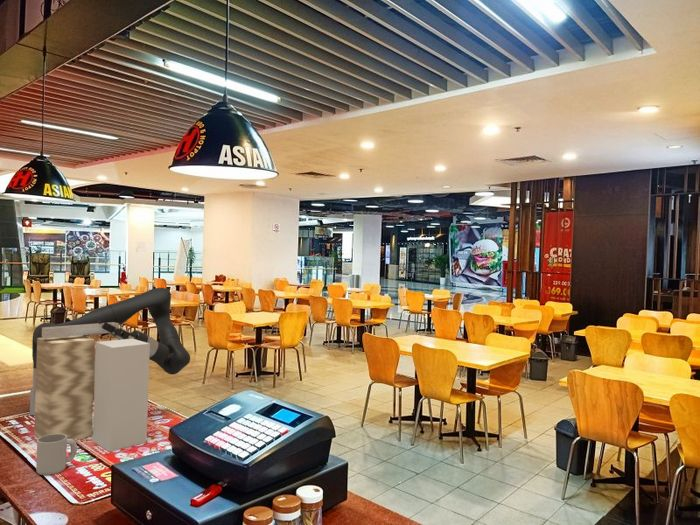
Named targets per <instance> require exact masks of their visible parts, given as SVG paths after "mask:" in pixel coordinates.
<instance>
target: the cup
mask: <svg viewBox="0 0 700 525" xmlns="http://www.w3.org/2000/svg"><path fill="white" fill-rule="evenodd" d="M68 445H69V446H70V453H69V455H68V456H67V450H68V448H67V447H68ZM77 451H78V445H77V442H76V440H73V439H67V436H66V435H64V434H50V435H45V436H42V437H40V438H37V439H36V463H35V470H36V473H37V474H38V475H41V476H51V475H56V474H59V473H62V472H63V471H65V469H66V466H67V463H69V462H71V461H73V460H74V458H75V457H76V455H77Z"/></svg>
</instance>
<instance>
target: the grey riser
mask: <svg viewBox="0 0 700 525" xmlns="http://www.w3.org/2000/svg"><path fill="white" fill-rule="evenodd" d="M95 345H96V356H95V387H94V398H93V417H92V443H95V444H96V445H98V446H99V447H101V448H103V449H104V450H105V451H107V452H108V453H109V452H113V451H118V450H121V449H126V448H130V447H133V446H137V445H140V444H144V443H147V438H148V437H147V436H148V435H147V434H148V411H149V410H148V409H149V382H150V377H149V376H150V359H149V355H150V344H149V343H146V342H143V341H139V340H136V339H123V340H118V339H115V340H106V341H105V340H104V341H103V340H101V341H95Z"/></svg>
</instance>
